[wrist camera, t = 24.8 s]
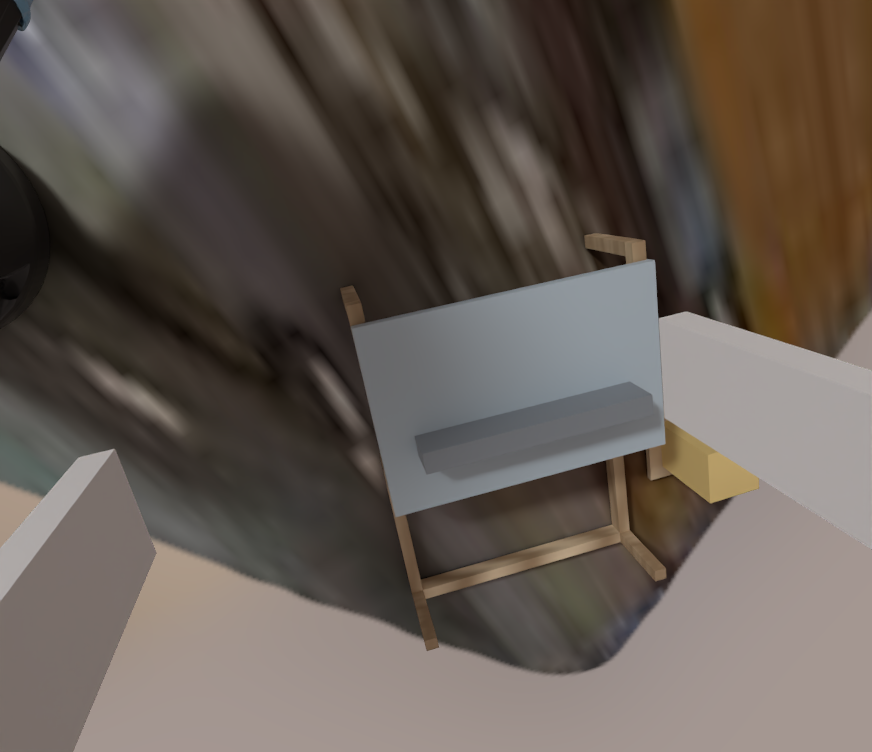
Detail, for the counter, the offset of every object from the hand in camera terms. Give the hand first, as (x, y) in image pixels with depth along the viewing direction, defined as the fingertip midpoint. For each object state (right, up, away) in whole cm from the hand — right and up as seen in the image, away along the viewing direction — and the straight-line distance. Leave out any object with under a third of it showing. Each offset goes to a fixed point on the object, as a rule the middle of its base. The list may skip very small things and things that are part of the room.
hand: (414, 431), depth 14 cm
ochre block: (+23, -4, +41) cm, 47 cm away
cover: (+6, 0, +28) cm, 29 cm away
